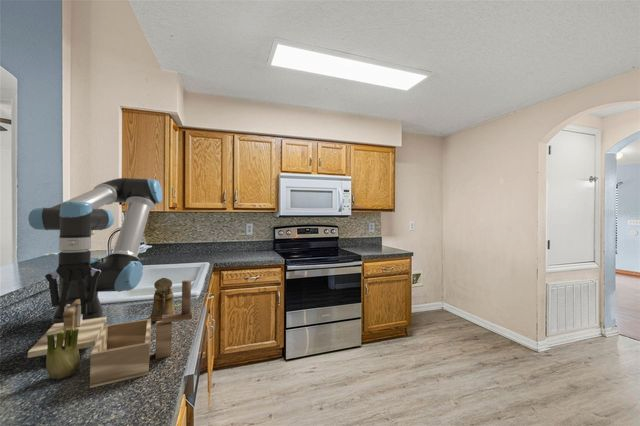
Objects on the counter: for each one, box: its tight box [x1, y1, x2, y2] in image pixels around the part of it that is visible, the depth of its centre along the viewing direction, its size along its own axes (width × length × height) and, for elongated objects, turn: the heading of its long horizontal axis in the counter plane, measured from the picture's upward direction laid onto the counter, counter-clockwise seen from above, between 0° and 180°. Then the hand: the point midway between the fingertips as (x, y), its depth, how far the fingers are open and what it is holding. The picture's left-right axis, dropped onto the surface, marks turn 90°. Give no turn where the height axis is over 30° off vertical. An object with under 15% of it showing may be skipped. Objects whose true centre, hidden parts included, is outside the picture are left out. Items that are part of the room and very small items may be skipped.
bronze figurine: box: [149, 277, 176, 323], centre depth 110 cm, size 9×14×18 cm, turn 28°
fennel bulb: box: [45, 328, 81, 380], centre depth 71 cm, size 6×5×12 cm
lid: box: [27, 299, 108, 359], centre depth 87 cm, size 22×14×11 cm, turn 30°
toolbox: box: [89, 318, 173, 389], centre depth 80 cm, size 20×18×10 cm
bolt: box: [162, 279, 193, 324], centre depth 85 cm, size 3×8×12 cm, turn 120°
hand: (73, 325), depth 87 cm, fingers closed on lid, 2 cm apart
